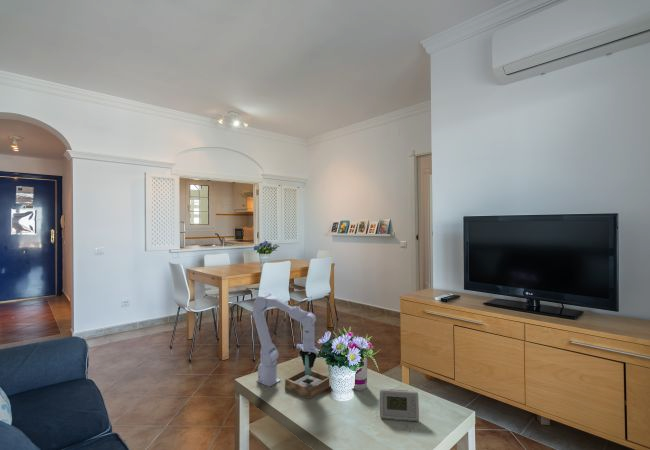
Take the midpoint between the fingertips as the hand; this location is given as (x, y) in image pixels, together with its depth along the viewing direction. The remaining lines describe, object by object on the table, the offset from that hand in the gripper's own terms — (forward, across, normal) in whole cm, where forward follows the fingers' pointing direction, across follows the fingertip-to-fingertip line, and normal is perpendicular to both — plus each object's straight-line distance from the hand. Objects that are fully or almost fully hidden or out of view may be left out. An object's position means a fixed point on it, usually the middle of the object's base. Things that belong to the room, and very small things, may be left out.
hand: (308, 366), depth 165 cm
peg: (+4, 0, 0) cm, 4 cm away
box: (+10, 0, 0) cm, 10 cm away
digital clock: (+11, +46, +5) cm, 47 cm away
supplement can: (+11, +19, +16) cm, 27 cm away
